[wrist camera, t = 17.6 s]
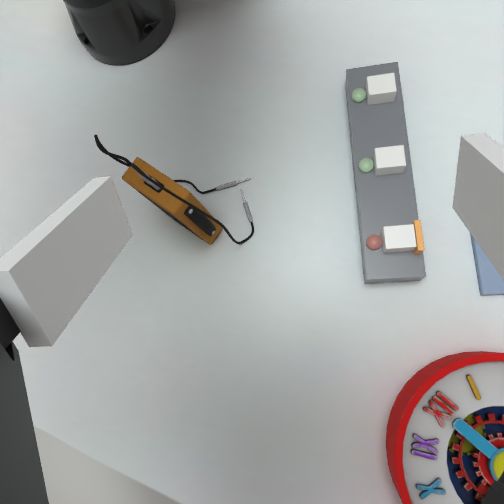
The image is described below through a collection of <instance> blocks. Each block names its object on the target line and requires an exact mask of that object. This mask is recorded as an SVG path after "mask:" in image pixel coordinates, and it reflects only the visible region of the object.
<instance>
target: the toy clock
mask: <svg viewBox="0 0 504 504" xmlns="http://www.w3.org/2000/svg"><path fill="white" fill-rule="evenodd" d="M386 450H387V458H388V465H389V469H390V472H391V476H392V479H393V482H394V485H395V487H396V489H397V491H398V493H399V495H400V498H401V500H402V502H403V504H481V502H482V500H483V498H484V497H485V495H486V493H487V491H488V490H489V488H490V486H491V485H492V483H493V482H494V481H495V480H497V481H498V479H499V478H500V476H501V475H502V473H503V471H504V353H495V352H482V351H481V352H463V353H458V354H454V355H449V356H446V357H443V358H441V359H439V360H436V361H434V362H432V363H430V364H429V365H427V366H426V367H424V368H423V369H421V370H420V371H418V372H417V373H416V374H415V375H414V376H413V377H412V378H411V379H410V380H409V381H408V382H407V383H406V384H405V386H404V387H403V389H402V390H401V392H400V393H399V395H398V396H397V398H396V400H395V403H394V405H393V407H392V410H391V412H390V417H389V421H388V425H387V435H386Z"/></svg>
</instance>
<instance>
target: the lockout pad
mask: <svg viewBox="0 0 504 504" xmlns="http://www.w3.org/2000/svg"><path fill="white" fill-rule="evenodd" d="M470 234H471V233H470ZM471 240H472V246H473V252H474V258H475V265H476V271H477V277H478V283H479V289H480V295H499V294H504V280H503V278H502V277H501V276H500V274H499V273H498V271H497V270H496V269H495V267H494V266H493V264H492V263H491V261H490V260H489V259H488V257H487V256H486V254H485V253H484V252H483V250H482V249H481V247H480V246H479V244H478V243H477V242H476V240H475V239H474V237H473V236H472V235H471Z"/></svg>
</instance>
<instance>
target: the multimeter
mask: <svg viewBox="0 0 504 504" xmlns="http://www.w3.org/2000/svg"><path fill="white" fill-rule="evenodd" d="M94 137H95V141H96V144H97V146H98V148H99V149H100V150H101V151H102V152H103V153H105V154H107V155H109V156H110V157H112V158H113V159H115V160H116V161H118V162H120V163H122V164H124V165H126V166H128V167H129V168H128V170H127V171H126V172H125V174H124V175H123V176H122V179H123V180H124V181H126V182H127V183H128V184H129V185H131V186H132V187H133V188H134V189H136V190H137V191H138V192H139V193H141V194H142V195H143V196H144V197H146V198H147V199H148V200H150V201H151V202H152V203H153V204H155V205H156V206H157V207H158V208H160V209H161V210H162V211H164V212H165V213H166V214H167V215H169V216H170V217H171V218H172V219H174V220H175V221H177V222H178V223H179V224H181V225H182V226H184V227H185V228H186V229H188V230H189V231H191V232H192V233H194V234H195V235H196V236H198V237H199V238H201V239H202V240H204V241H206V242H207V243H208V244H212V242H213V241H214V240H215V238H216V237H217V235H218V234H219V233H220V231H221V230H222V228H223V229H224V230H225V231H226V233H227V234H228V235H229V237H230V238H231V239H232V240H233V241H234V242H235V243H237V244H242V243H244V242H245V241H247V240H248V239H249V238H251V236H252V235H253V233H254V226H253V223H252V217H251V213H250V210H249V207H248V204H247V202H245V199H244V196H243V193H242V190H241V194H242V197H243V201H244V203H243V205H244V207H245V210H246V213H247V217H248V219H249V222H250V223H251V226H252V233H251V235H250V236H249V237H248V238H246V239H245V240H243V241H241V242H237V241H236V240H235V239H234V238H233V237H232V236H231V234H230V233H229V231H228V230H227V229H226V227H225V226H224V225H223V224H222V223H220V222H219V221H218V220H216V219H215V218H214V217H213V216H212V215H211V214H210V213H209V212H208V211H207V210H206V209H205V208H204V207H203V206H202V204H201V203H200V202H199V201H198V200H197V199H196V198H195V197H194V196H193V195H192V194H191V193H190V192H189V191H188V190H186V189H185V188H184V187H182V186H181V185H179V184H177V183H176V182H186V183H189V184H191V185H192V186H193V187H194V188H195V189H196V190H197V191H198V192H199V193H202V194H204V193H208V192H211V191H214V190H220V189H224V188H227V187H230V186H234V185H237V183H240V182H243V181H246V180H249V179H251V178H248V179H244V180H241V181H238V182H236V181H234V182H231V183H227V184H224V185H221V186H218V187H216V188H214V189H211V190H208V191H204V192H202V191H199V190H198V189H197V188H196V187H195V185H194V184H193V183H191V182H189V181H186V180H174V181H173V180H172V179H170V178H169V177H167V176H166V175H164V174H163V173H161V172H160V171H158V170H157V169H155V168H154V167H152V166H151V165H149V164H148V163H146V162H145V161H143V160H142V159H140V158H138V157H137V158H136V159H135V160H134V162H133V163H131V162H130V161H129V160H128V159H126V158H124V157H122V156H119V155H115V154H112V153H110V152H108V151H107V150H106V149H105V148H104V147H103V145H102V144H101V143H100V141H99V139H98V137H97V135H94ZM118 158H119V159H118ZM120 159H122V160H124V161H125V162H127V163H125V162H123V161H121V160H120Z"/></svg>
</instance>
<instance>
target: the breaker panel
mask: <svg viewBox="0 0 504 504" xmlns="http://www.w3.org/2000/svg"><path fill="white" fill-rule="evenodd" d="M346 95H347V106H348V116H349V126H350V137H351V147H352V158H353V168H354V178H355V189H356V199H357V210H358V220H359V230H360V241H361V251H362V262H363V272H364V283H365V284H366V283H384V282H402V281H419V280H421V279H423V278H424V277H426V273H425V265H424V258H423V251H424V244H423V236H422V229H421V221H420V220H418V212H417V204H416V197H415V189H414V182H413V174H412V166H411V159H410V151H409V144H408V136H407V129H406V121H405V113H404V106H403V98H402V91H401V83H400V75H399V68H398V62H393V63H387V64H380V65H373V66H367V67H360V68H353V69H346Z"/></svg>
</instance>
